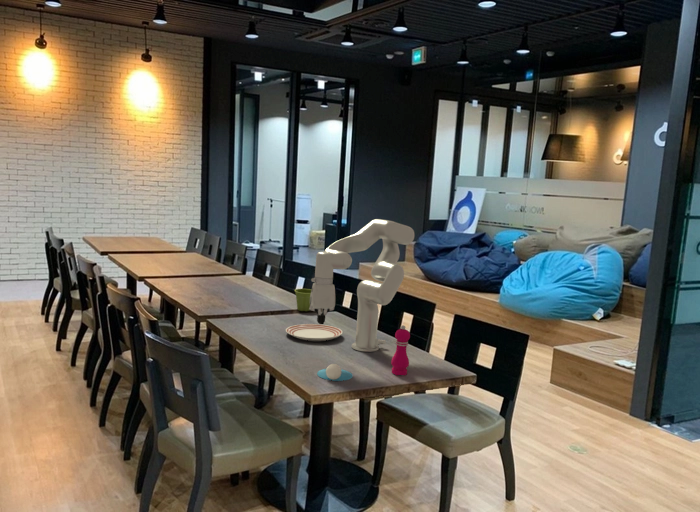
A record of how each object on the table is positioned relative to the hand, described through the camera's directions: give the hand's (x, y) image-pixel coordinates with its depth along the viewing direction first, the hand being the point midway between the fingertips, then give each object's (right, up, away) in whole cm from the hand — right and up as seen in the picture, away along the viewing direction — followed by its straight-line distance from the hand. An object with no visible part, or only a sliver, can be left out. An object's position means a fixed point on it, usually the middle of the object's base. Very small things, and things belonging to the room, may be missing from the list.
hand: (320, 323), depth 256 cm
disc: (+6, -18, -18) cm, 27 cm away
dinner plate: (-5, -10, +35) cm, 37 cm away
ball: (+6, -16, -24) cm, 30 cm away
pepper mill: (+32, -19, -11) cm, 39 cm away
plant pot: (-14, -2, +88) cm, 89 cm away
